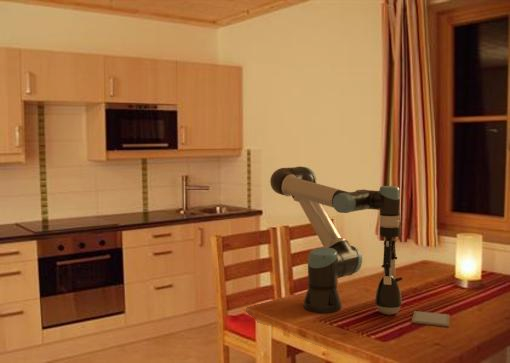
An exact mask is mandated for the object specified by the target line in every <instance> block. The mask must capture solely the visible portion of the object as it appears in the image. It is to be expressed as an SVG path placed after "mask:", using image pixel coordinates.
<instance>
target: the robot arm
mask: <svg viewBox="0 0 510 363" xmlns="http://www.w3.org/2000/svg"><path fill="white" fill-rule="evenodd" d="M269 183H270V187H271V189H272V190H273V191H274V192H275V194H276V193H277V194H278V195H281V196H285V197H292V199H293V201H295V202H298V204H300V206H301V208H302V211H303V212H304V214H305V216H306V217H307V219H308V221H309V222H310V225H311V226H312V228H313V230H314V232H315V234H316V236H317V237H318V239H319V241H320V243H321V245H322V246H323V247H321V248H320V247H319V248H315V249H312V250H310V252H309V253H308V258H307V291H306V293H305V297H304V300H303V308H304V309H305V310H306V311H310V312H313V313H319V314H321V313H322V314H323V313H326V314H327V313H329V314H330V313H336V312H338V311H341V310H342V301H341V296H340V293H339V291H338V279H340V278H341V279H342V278H343V277H349V276H352V275H353V274H356V273H358V272H359V271H360V270H361V267H362V264H363V255H362V253H361V251H360V250H359V249H358V248H357V247H356V246H354V245H351V244H350V242H349V241H348V240H347V239H346V238H343V237H342V236H341V234H340V232H339V231H338V229H337V227H336V226H335V224H334V222H333V220H332V219H331V217H330V215H329V214H328V212H327V210H326V208H325V206H327V207H330V208H334V210H335V211H336V212H337V213H339V214H348V213H352V212H358V211H364V210H375V211H376V210H378V211H379V226H380V227H379V236H380V237H383V238H385V240H383V259H382V260H383V261H382V265H381V268H383V276H384V284H387V285H391V275H392V276H393V277H396V261H397V260H398V257H397V255H396V254H397V251H396V238H399V237H400V235H401V232H400V231H401V230H400V227H399V226H400V222H401V221H402V217H400V215H401V214H400V213H401V212H400V205H401V204H400V203H401V195H400V188H399V186H395V185H382V186H380V187H379V190H373V189H372V190H370V189H356V190H355V191H345V190H343V189H339V188H334V187H331V186H328V185H324V184H320V183H318V182H317V176H316V174H315V172H314V171H313V170H312V169H311V168H309V167H307V166H301V165H300V166H299V165H298V166H296V167H295V166H294V167H280V168H278V169H276V170H275V171H274V172H273V173H272V174H271V176H270V180H269Z"/></svg>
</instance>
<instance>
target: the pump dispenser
mask: <svg viewBox="0 0 510 363" xmlns="http://www.w3.org/2000/svg"><path fill="white" fill-rule="evenodd" d="M402 280H403V276H401V277H396V278H395V276H392V275H391V285H387V284H384V275H383V276H382V277H381V279H380V280H379V283H378V284H377V287H376V293H375V298H374V304H375V306H376V309H377V311H378V312H379V313H380V314H381V313H382V314H384V315H389V316H390V315H391V316H392V315H395V314H397V313H399V311H400V309H401V307H402V305H403V301H402V294H401V289H400V287H399V284H398V282H401V281H402Z"/></svg>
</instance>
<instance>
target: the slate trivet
mask: <svg viewBox="0 0 510 363" xmlns="http://www.w3.org/2000/svg"><path fill="white" fill-rule="evenodd" d="M411 324H415V325H416V324H417V325H425V326H434V327H444V328H449V326H450V314H449V313H448V314H447V313H438V312H430V311H429V312H427V311H418V310H414V311H413V315H412V318H411Z"/></svg>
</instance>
